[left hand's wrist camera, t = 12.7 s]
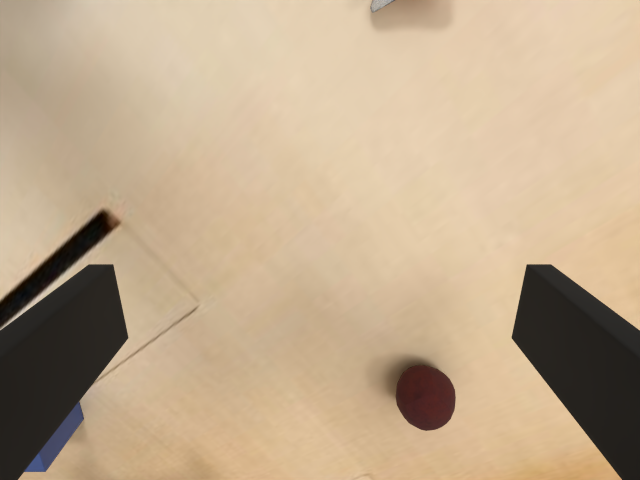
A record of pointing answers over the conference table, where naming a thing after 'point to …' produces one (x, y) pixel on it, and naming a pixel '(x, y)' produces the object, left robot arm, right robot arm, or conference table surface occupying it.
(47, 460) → the brick
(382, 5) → the fish
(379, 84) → the conference table surface
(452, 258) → the conference table surface
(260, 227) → the conference table surface
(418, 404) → the dark red ball
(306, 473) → the conference table surface
